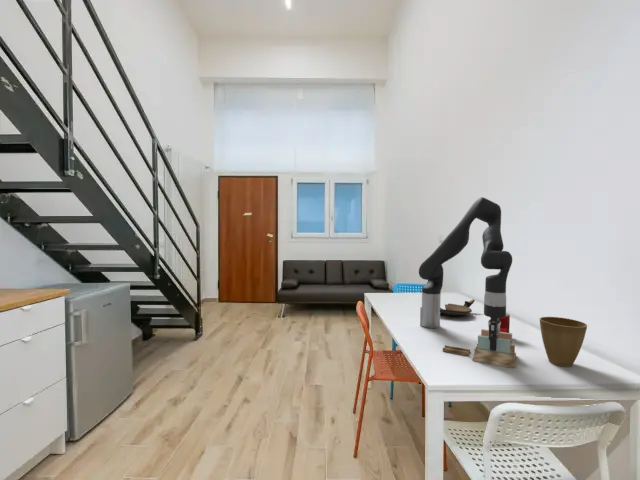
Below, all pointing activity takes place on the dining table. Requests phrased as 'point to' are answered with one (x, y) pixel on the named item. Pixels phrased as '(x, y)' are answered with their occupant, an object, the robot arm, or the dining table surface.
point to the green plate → (501, 347)
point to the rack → (495, 357)
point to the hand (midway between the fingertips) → (493, 347)
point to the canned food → (505, 323)
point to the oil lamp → (457, 309)
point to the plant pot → (562, 339)
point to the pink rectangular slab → (501, 335)
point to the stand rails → (456, 350)
